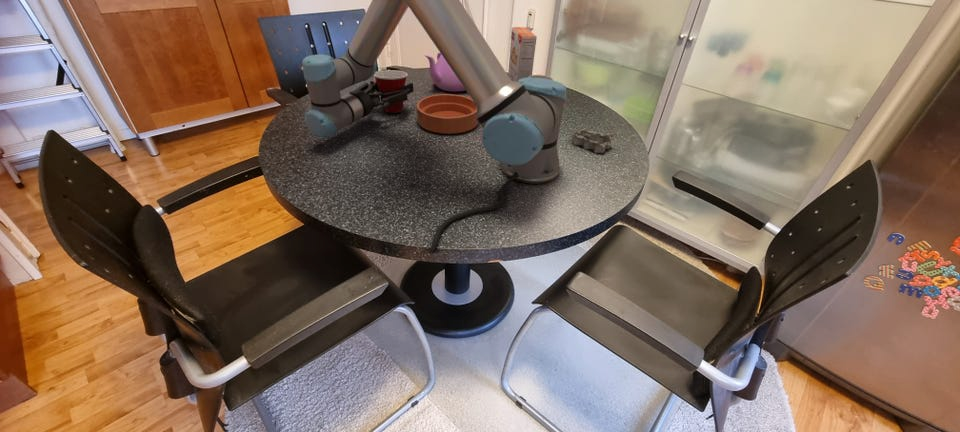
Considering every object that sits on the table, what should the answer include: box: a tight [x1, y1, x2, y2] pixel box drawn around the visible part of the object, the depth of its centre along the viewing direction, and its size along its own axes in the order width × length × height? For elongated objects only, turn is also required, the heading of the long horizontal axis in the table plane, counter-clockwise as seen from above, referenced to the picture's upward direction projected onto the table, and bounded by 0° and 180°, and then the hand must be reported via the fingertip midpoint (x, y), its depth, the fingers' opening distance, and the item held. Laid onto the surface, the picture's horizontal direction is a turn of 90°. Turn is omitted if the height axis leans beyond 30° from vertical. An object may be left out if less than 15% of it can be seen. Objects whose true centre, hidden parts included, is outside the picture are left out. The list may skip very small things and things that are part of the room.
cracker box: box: [507, 26, 538, 82], centre depth 140 cm, size 14×6×21 cm, turn 10°
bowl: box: [416, 93, 479, 135], centre depth 117 cm, size 19×19×6 cm
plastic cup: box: [372, 69, 409, 114], centre depth 120 cm, size 11×11×12 cm
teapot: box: [424, 51, 466, 93], centre depth 140 cm, size 22×22×14 cm
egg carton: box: [571, 128, 615, 154], centre depth 109 cm, size 11×8×4 cm
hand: (400, 84), depth 123 cm, fingers closed on plastic cup, 9 cm apart
